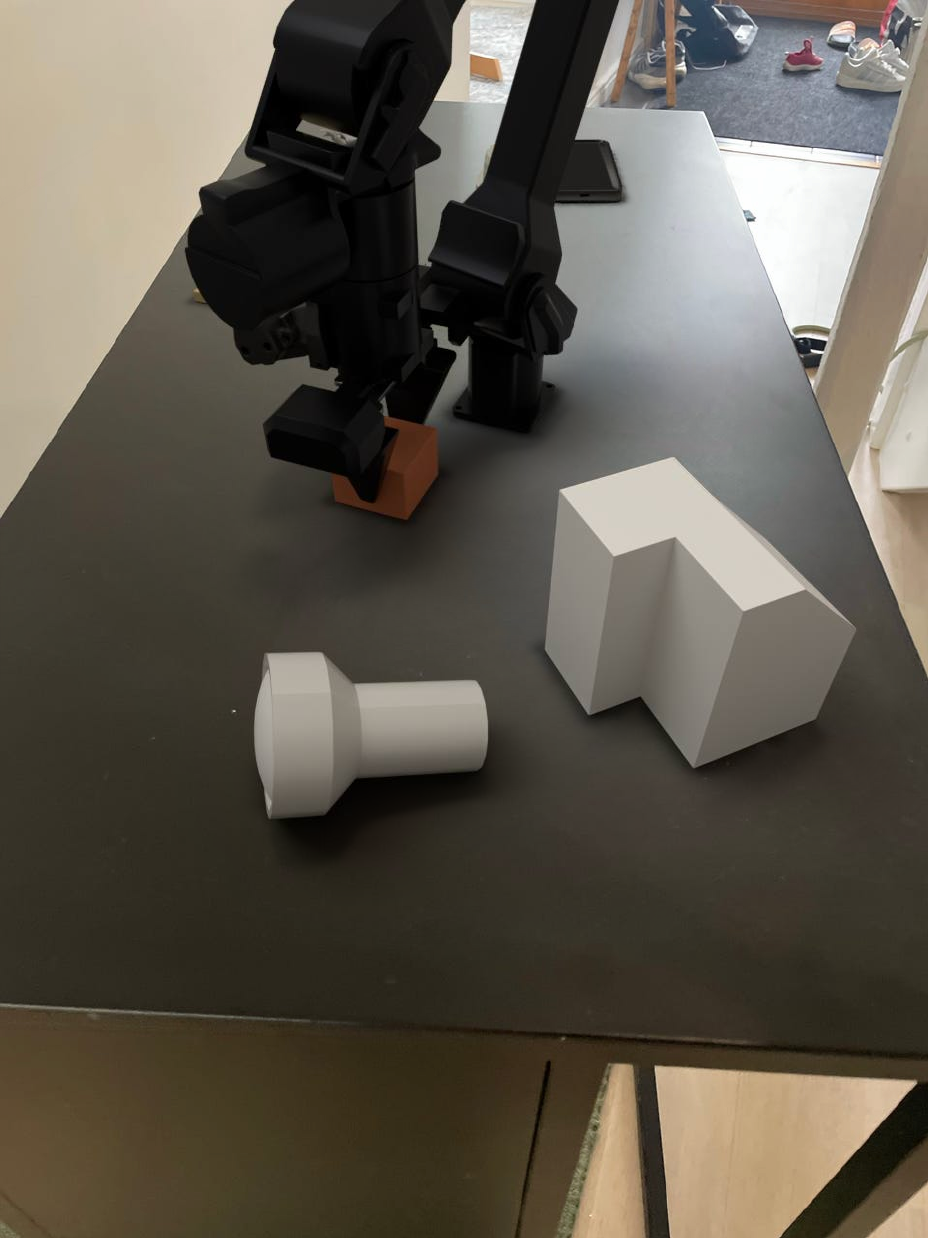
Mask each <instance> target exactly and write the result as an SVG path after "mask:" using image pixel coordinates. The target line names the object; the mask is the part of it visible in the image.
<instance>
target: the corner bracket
mask: <svg viewBox="0 0 928 1238" xmlns="http://www.w3.org/2000/svg"><path fill="white" fill-rule="evenodd" d="M555 523H556V524H555V531H554V532H555V533H554V543H553V544H554V545H553V555H552V566H551V577H550V578H551V579H550V586H549V587H550V589H549V599H548V610H547V621H546V631H545V642H544V651H545V653H546V654H547V656H548V657H549V658H550V660H551V662H552V663H553V664H554V666H555V667H556V669H557V671H558V672H559V674H560V675H561V676H562V678H563V680H564V681H565V683H566V684H567V685H568V687H569V688H570V690H571V691H572V693H573V694H574V696H575V697H576V699H577V700H578V702H579V703H580V704H581V706H582V707H583V709H584V710H585V712H586V713H587V716H591V715H594V714H597V713H600V712H602V711H605V710H607V709H610V708H613V707H615V706H618V705H620V704H624V703H625V702H629V701H632V700H634V699H637V698H639V697H640V698H641V700H643V702H644V703H645V705H646V706H647V707H648V709H649V710H650V712H651V713H652V714H653V716H654V717H655V718H656V720H657V722H658V723H659V724H660V725H661V726H662V728H663V729H664V730H665V732H666V733H667V734H668V736H669V737H670V738H671V740H672V741H673V743H674V744H675V745H676V747H677V748H678V749H679V751H680V752H681V753H682V755H683V756H684V758H685V759H686V760H687V762H688V763H689V765H690V766H691V767H692V769H696V768H698V767H700V766H701V767H702V766H704V765H706V764H708V763H711V762H713V761H716V760H718V759H721V758H723V757H726V756H728V755H731V754H733V753H736V752H738V751H740V750H743V749H745V748H748V747H751V746H753V745H756V744H757V743H760V742H763V741H766V740H768V739H770V738H773V737H775V736H778V735H780V734H783V733H785V732H788V731H790V730H792V729H795V728H797V727H800V726H802V725H805V724H807V723H810V722H813V721H815V720H816V719H817V717H818V715H819V712H820V710H821V708H822V706H823V704H824V702H825V700H826V697H827V696H828V693H829V691H830V689H831V687H832V684H833V682H834V680H835V677H836V676H837V674H838V672H839V669H840V667H841V664H842V662H843V660H844V658H845V656H846V653H847V652H848V650H849V647H850V645H851V643H852V641H853V638H854V636H855V634H856V632H857V628H856V627H855V626H854V625H853V624H852V623H851V622H850V621H849V620H848V619H847V618H846V617H845V616H844V615H843V614H842V613H841V612H840V611H839V610H838V609H837V608H836V607H835V606H834V605H833V604H832V603H831V601H829V600H828V599H827V598H826V597H825V595H823V594H822V593H821V592H820V591H819V590H818V589H817V588H816V587H815V586H814V585H813V584H812V583H811V582H810V581H809V580H808V579H807V578H806V577H805V576H804V575H803V574H802V573H801V572H799V570H798V569H796V567H794V565H793V564H791V562H790V561H789V560H787V558H786V557H785V556H784V555H783V554H782V553H781V552H780V551H779V550H778V549H777V548H775V546H773V545H772V543H770V541H768V540H767V538H765V536H763V535H762V534H760V533H759V532H758V531H757V530H755V529H754V528H753V527H752V526H751V525H749V524H748V523H747V522H746V521H744V520H743V519H742V518H741V517H740V516H739V515H737V514H736V513H734V512H733V511H732V510H731V509H730V508H729V507H727V506H726V505H725V504H724V503H723V502H721V501H720V500H718V499H717V498H716V497H715V496H714V495H713V494H712V493H710V491H708V490H707V489H706V488H705V487H704V486H703V485H702V484H701V483H700V481H698V480H697V478H695V476H693V475H692V473H690V472H689V471H688V470H687V469H686V468H685V467H684V465H683V464H681V463H680V461H678V460H677V459H676V457H674V456H672V457H668V458H664V459H661V460H658V461H653V462H650V463H647V464H644V465H641V466H637V467H633V468H630V469H626V470H624V471H620V472H616V473H612V474H610V475H606V476H602V477H598V478H595V479H593V480H592V479H591V480H589V481H585V482H581V483H579V484H575V485H572V486H571V485H570V486H568V487H564V488H561V489H559V490H558V502H557V512H556V522H555Z"/></svg>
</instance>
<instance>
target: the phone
mask: <svg viewBox="0 0 928 1238" xmlns="http://www.w3.org/2000/svg"><path fill="white" fill-rule="evenodd" d="M622 195H623V183H622V181H621V177H620V174H619V171H618V167H617V164H616V159H615V158H614V154H613V151H612V146H611V144H610V142H609V141H608V140H605V139H599V138H598V139H593V138H592V139H589V138H588V139H575V141H574V144H573V147H572V151H571V154H570V157H569V160H568V163H567V166H566V169H565V172H564V176H563V179H562V182H561V185H560V188H559V191H558V194H557V198H556V201H555V202H560V203H563V202H564V203H565V202H566V203H567V202H569V203H570V202H571V203H572V202H573V203H574V202H578V203H579V202H588V203H589V202H617V201H620V200H622Z"/></svg>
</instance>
